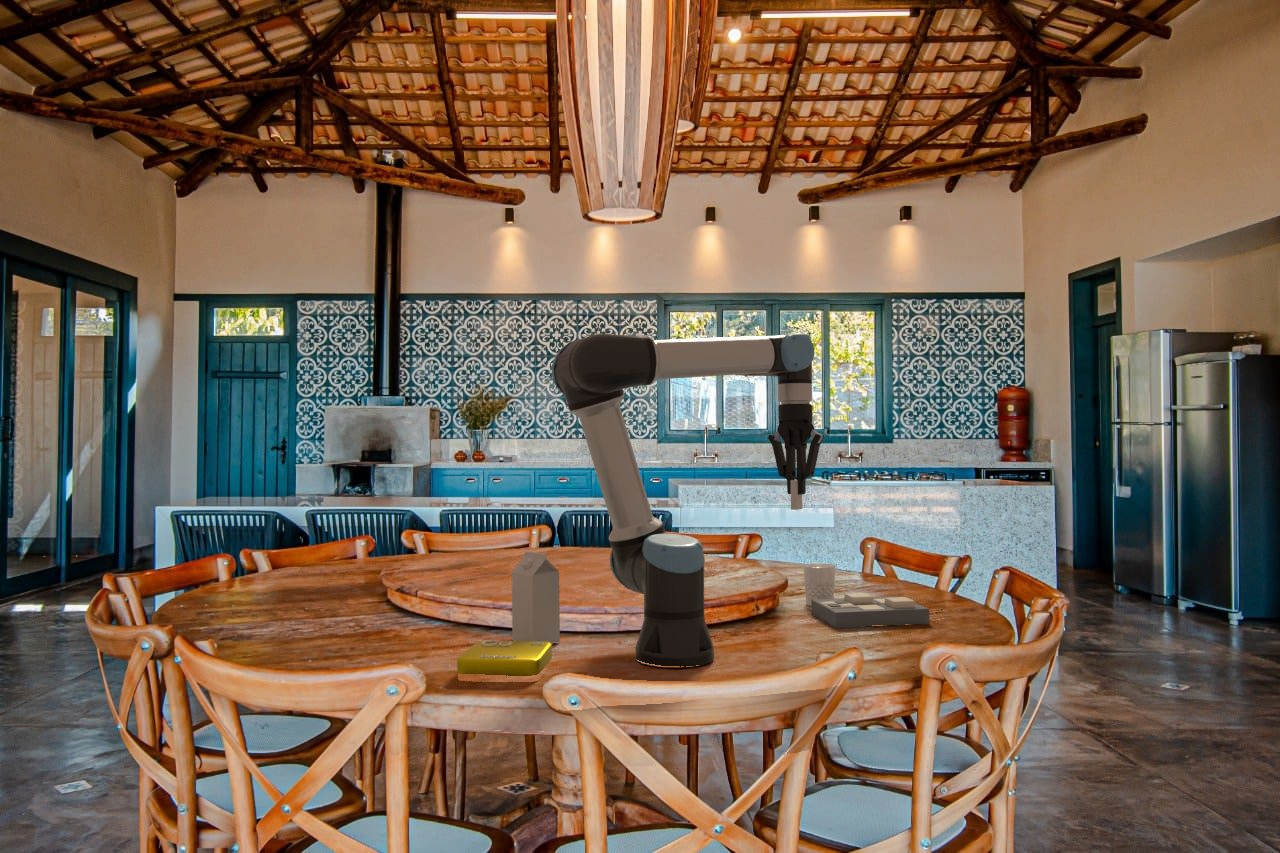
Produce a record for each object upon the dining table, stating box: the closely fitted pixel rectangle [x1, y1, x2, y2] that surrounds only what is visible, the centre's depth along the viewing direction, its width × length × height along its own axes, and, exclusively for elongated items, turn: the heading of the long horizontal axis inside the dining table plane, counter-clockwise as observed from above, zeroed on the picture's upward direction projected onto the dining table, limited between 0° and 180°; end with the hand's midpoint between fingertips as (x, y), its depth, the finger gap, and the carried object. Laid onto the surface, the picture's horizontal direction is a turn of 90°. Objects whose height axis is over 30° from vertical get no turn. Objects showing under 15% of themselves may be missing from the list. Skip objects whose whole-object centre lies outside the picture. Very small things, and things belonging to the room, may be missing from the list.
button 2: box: [856, 605, 885, 610], centre depth 202 cm, size 5×5×2 cm
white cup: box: [803, 562, 836, 607], centre depth 224 cm, size 8×8×10 cm
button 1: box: [844, 592, 874, 604], centre depth 209 cm, size 5×5×2 cm
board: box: [811, 595, 930, 629], centre depth 206 cm, size 22×16×4 cm
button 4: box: [885, 596, 916, 609], centre depth 203 cm, size 5×5×2 cm
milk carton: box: [511, 550, 561, 643], centre depth 185 cm, size 7×7×19 cm
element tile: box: [456, 639, 553, 676], centre depth 163 cm, size 15×15×5 cm
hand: (796, 509), depth 197 cm, fingers closed
